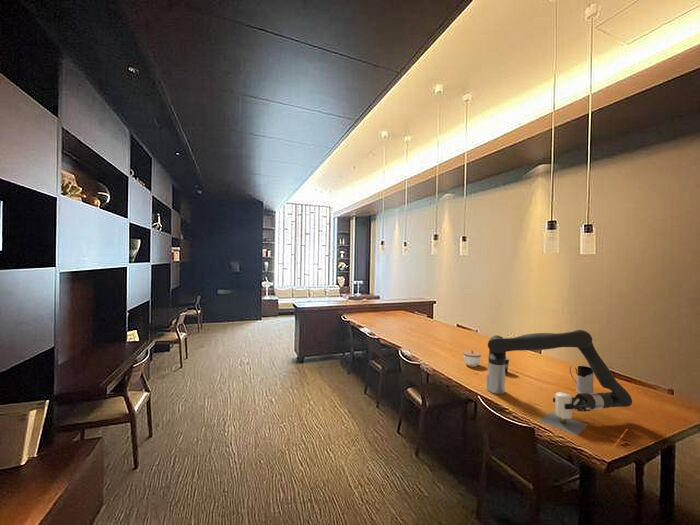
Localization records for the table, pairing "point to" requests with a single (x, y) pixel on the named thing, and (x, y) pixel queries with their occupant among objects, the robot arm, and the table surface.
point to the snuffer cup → (563, 405)
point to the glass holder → (584, 379)
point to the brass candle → (562, 420)
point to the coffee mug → (506, 364)
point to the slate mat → (570, 424)
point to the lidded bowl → (472, 358)
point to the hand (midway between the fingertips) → (559, 403)
